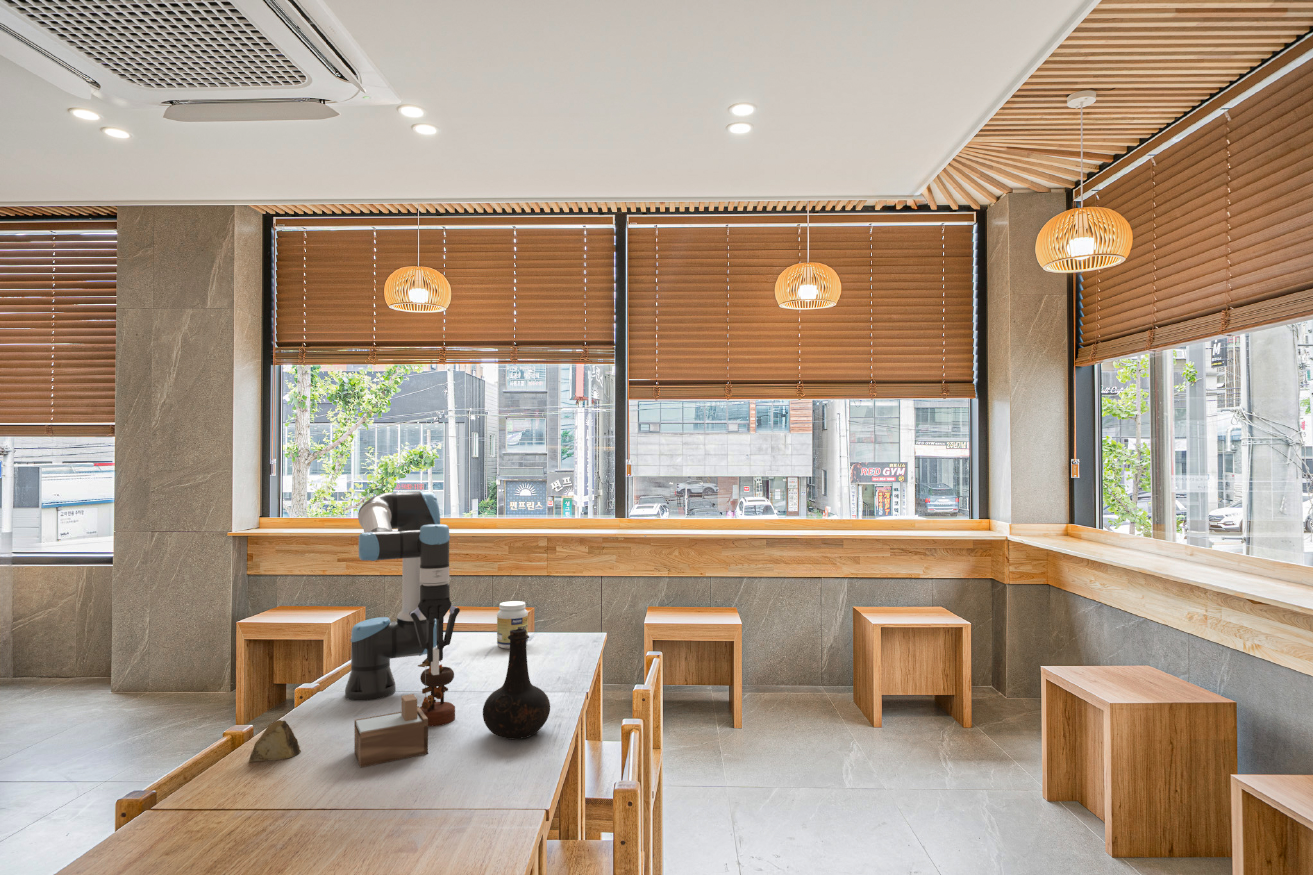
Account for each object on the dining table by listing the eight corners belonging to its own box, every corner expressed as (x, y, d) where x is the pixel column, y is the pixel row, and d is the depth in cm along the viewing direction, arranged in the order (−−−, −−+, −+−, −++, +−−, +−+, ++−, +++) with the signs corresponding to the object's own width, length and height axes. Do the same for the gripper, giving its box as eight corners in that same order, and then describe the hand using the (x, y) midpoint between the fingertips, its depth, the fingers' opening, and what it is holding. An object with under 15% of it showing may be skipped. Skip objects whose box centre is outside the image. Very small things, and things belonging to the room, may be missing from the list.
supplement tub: (512, 650, 285) (512, 607, 286) (490, 646, 292) (490, 604, 293) (534, 644, 296) (533, 602, 296) (512, 640, 302) (512, 599, 303)
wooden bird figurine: (446, 728, 202) (439, 656, 203) (408, 731, 203) (402, 658, 204) (466, 710, 217) (461, 642, 218) (431, 712, 219) (426, 645, 219)
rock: (236, 757, 178) (272, 754, 177) (248, 722, 184) (283, 718, 182) (264, 769, 187) (299, 766, 185) (275, 735, 192) (308, 732, 190)
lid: (355, 724, 186) (355, 700, 186) (414, 714, 193) (414, 691, 194) (360, 735, 178) (361, 711, 179) (422, 724, 186) (422, 700, 186)
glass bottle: (469, 741, 193) (469, 635, 194) (506, 718, 210) (505, 620, 211) (529, 749, 187) (528, 639, 188) (561, 725, 204) (560, 624, 205)
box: (354, 751, 187) (354, 717, 187) (418, 739, 195) (418, 706, 195) (360, 767, 177) (360, 730, 177) (428, 753, 185) (427, 718, 185)
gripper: (412, 587, 186) (412, 680, 185) (463, 582, 193) (463, 673, 192) (406, 583, 193) (406, 673, 192) (455, 579, 199) (456, 666, 198)
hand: (435, 673), depth 192 cm, fingers closed
